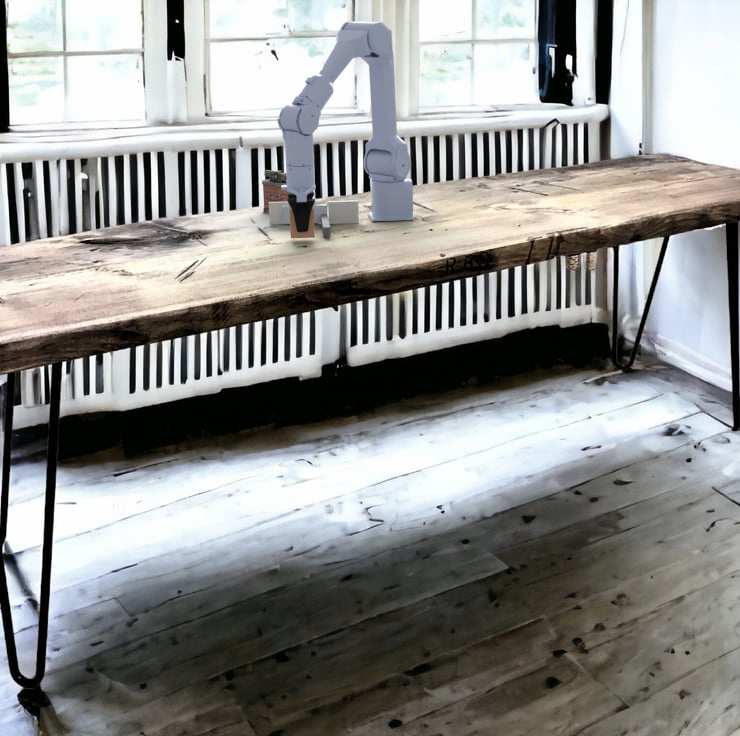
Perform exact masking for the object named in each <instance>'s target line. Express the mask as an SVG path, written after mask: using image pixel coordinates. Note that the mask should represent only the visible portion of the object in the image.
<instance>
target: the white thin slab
mask: <svg viewBox="0 0 740 736" xmlns="http://www.w3.org/2000/svg"><path fill="white" fill-rule="evenodd" d="M327 202H328V203H327V214H328V219H329V224H330V225H341V224H342V225H344V224H359V222H360V221H359V219H360V218H359V200H357V199H356V200H328V201H327ZM285 205H289V203H288V202H269V215H268V216H269V217H268V218H269V225H284V224H283V212H282V206H285ZM314 205H319V201H318V200H315V203H314Z"/></svg>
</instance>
